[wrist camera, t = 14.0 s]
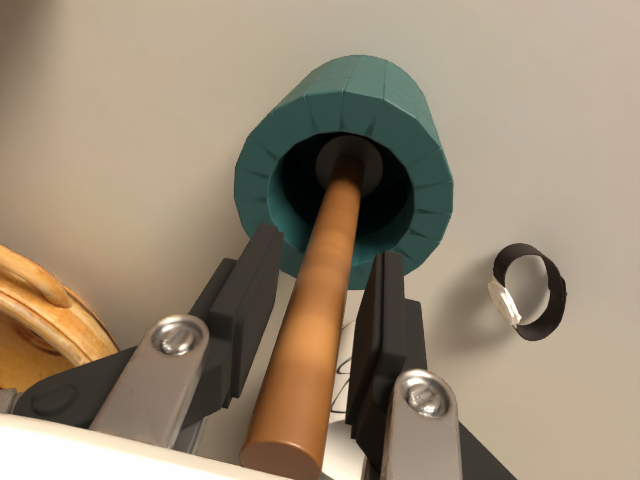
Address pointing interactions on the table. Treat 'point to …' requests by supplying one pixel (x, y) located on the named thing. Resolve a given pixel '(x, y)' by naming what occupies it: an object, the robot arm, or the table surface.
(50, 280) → the ceramic bowl
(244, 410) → the table surface
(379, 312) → the robot arm
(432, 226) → the teal hollow cylinder
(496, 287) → the watch
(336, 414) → the mug
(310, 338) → the brush
